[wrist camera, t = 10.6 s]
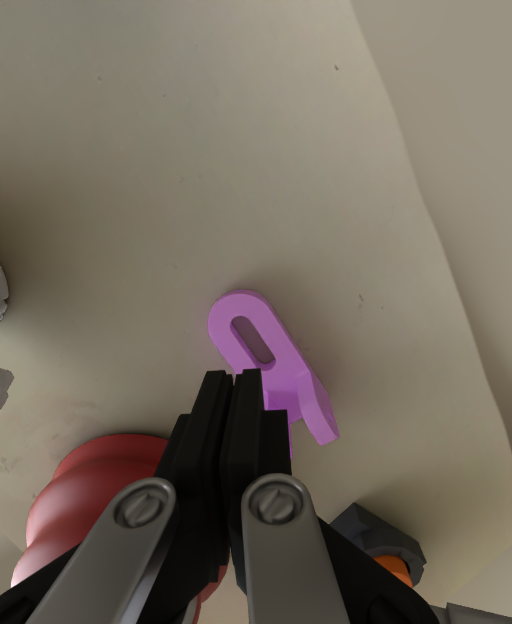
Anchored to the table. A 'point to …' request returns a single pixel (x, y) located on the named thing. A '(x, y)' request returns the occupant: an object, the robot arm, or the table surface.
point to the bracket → (273, 363)
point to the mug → (3, 378)
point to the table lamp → (89, 499)
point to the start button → (395, 567)
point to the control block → (380, 539)
